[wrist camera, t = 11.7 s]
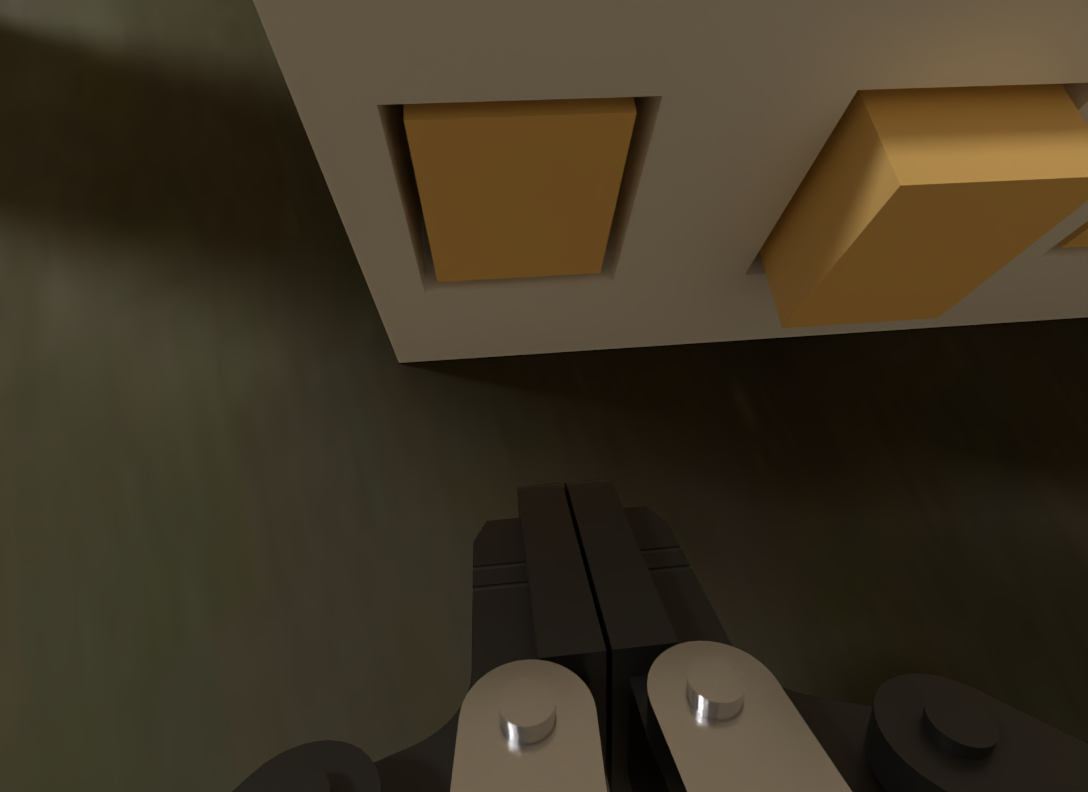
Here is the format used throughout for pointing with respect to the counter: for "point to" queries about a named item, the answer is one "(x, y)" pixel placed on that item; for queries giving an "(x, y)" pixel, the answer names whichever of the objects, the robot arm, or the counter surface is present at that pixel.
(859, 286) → the middle button
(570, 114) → the button
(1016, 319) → the button console
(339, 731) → the counter surface
